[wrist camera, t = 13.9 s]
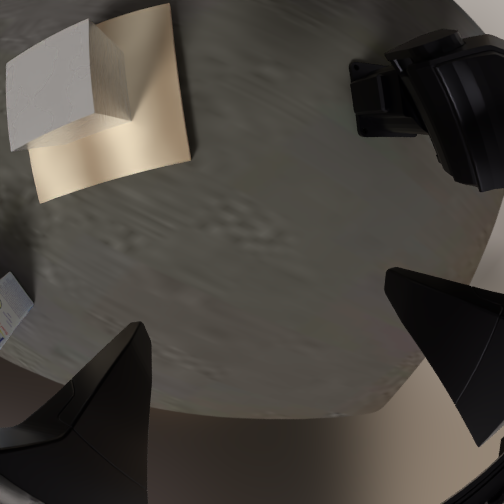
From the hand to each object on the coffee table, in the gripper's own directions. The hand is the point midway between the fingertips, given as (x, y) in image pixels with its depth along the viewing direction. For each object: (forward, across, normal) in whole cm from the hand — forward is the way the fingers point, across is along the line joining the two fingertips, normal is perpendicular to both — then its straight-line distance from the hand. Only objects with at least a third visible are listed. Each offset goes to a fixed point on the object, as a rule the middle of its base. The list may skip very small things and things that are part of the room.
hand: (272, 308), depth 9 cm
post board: (+13, +9, -11) cm, 19 cm away
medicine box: (+13, +26, +4) cm, 29 cm away
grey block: (+12, +9, -11) cm, 19 cm away
